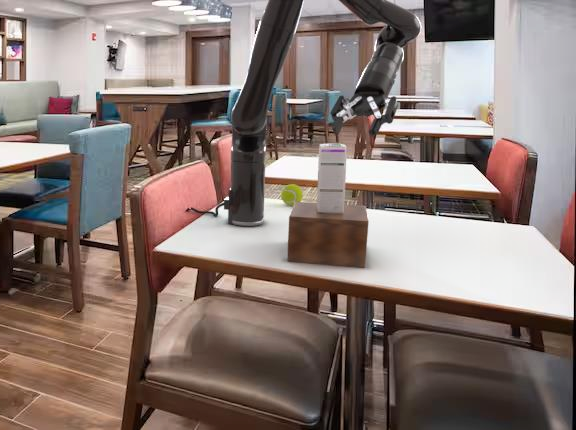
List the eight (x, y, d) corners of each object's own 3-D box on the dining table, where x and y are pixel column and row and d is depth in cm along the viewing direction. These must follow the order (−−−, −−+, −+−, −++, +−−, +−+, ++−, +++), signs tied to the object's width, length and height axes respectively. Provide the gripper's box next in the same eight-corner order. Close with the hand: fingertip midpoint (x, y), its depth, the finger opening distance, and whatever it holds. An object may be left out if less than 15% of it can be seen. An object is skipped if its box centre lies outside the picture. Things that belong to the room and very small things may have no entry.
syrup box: (344, 214, 116) (348, 146, 112) (315, 212, 117) (319, 145, 113) (342, 208, 121) (346, 143, 118) (315, 207, 122) (319, 142, 119)
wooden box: (287, 261, 116) (289, 216, 114) (293, 242, 130) (295, 201, 128) (364, 267, 112) (368, 221, 110) (362, 247, 126) (365, 205, 124)
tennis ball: (278, 206, 168) (278, 185, 166) (283, 202, 174) (284, 181, 172) (299, 208, 165) (300, 186, 163) (304, 204, 171) (305, 183, 169)
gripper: (344, 70, 130) (319, 121, 124) (404, 69, 121) (379, 123, 115) (352, 92, 135) (328, 142, 129) (410, 93, 126) (387, 146, 120)
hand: (352, 133), depth 122 cm, fingers open, 8 cm apart
